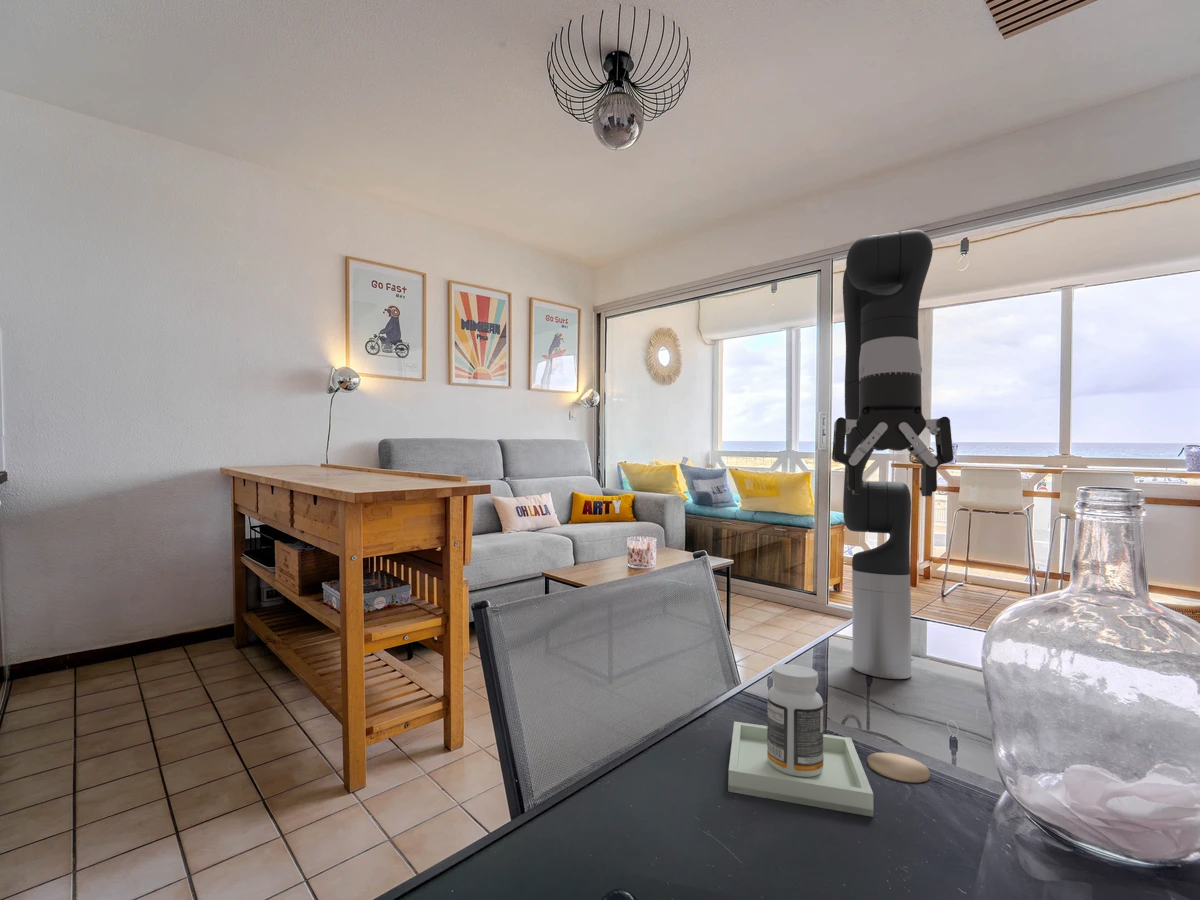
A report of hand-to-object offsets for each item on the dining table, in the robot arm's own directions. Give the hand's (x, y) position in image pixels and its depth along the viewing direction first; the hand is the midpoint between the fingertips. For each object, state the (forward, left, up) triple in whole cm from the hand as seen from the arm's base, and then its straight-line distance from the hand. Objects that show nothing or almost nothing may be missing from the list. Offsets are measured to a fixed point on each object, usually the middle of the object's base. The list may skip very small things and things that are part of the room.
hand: (890, 495), depth 75 cm
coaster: (+12, -2, -30) cm, 32 cm away
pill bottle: (+17, -13, -30) cm, 37 cm away
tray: (+17, -13, -30) cm, 37 cm away
